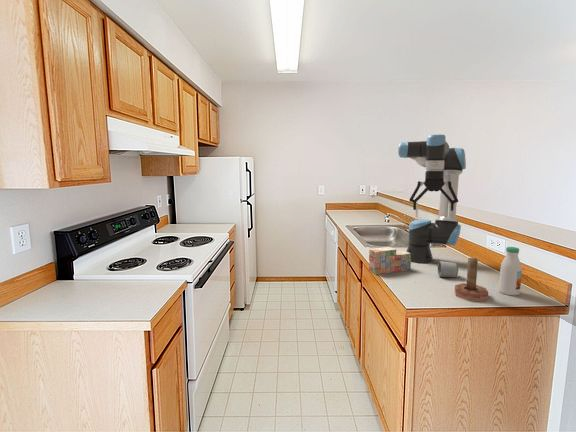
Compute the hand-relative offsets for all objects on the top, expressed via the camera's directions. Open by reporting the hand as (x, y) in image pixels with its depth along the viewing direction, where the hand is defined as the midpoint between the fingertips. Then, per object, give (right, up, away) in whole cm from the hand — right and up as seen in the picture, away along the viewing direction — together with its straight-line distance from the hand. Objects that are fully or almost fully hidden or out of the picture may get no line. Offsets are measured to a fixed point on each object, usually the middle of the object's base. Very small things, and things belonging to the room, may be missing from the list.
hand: (432, 217), depth 155 cm
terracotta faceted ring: (+13, -33, -9) cm, 37 cm away
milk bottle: (+30, -33, -7) cm, 45 cm away
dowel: (+13, -33, -9) cm, 37 cm away
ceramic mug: (+14, -30, +16) cm, 36 cm away
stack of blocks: (-12, -29, +26) cm, 41 cm away
